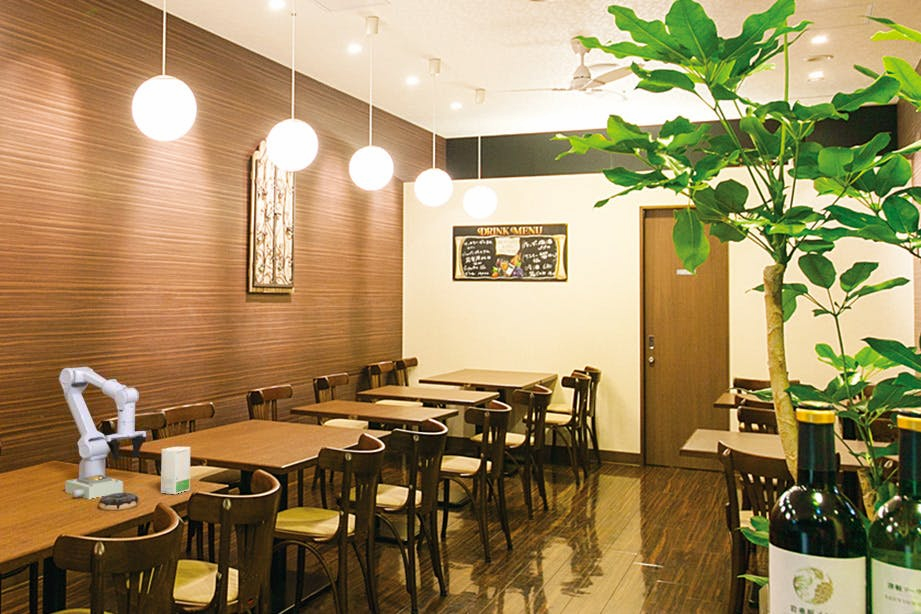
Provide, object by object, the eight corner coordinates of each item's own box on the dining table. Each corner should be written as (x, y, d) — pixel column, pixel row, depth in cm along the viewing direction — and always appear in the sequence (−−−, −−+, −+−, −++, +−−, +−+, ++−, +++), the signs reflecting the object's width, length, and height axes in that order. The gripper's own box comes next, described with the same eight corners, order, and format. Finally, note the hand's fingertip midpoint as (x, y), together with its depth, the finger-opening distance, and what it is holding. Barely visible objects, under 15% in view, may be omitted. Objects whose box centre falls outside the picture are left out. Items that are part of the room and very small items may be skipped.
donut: (110, 502, 245) (110, 490, 245) (145, 503, 244) (145, 491, 244) (92, 511, 234) (92, 499, 234) (128, 512, 233) (128, 500, 233)
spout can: (87, 493, 255) (85, 477, 256) (98, 490, 259) (96, 475, 260) (97, 492, 253) (95, 476, 253) (108, 489, 257) (106, 474, 257)
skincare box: (174, 495, 254) (175, 450, 255) (159, 493, 257) (160, 449, 257) (190, 490, 262) (191, 446, 263) (175, 488, 265) (176, 445, 265)
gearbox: (56, 493, 254) (56, 479, 254) (98, 486, 267) (99, 472, 267) (80, 501, 245) (80, 486, 245) (122, 492, 257) (123, 478, 257)
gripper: (113, 424, 259) (112, 463, 259) (150, 420, 271) (150, 457, 271) (102, 422, 264) (101, 460, 263) (140, 418, 275) (139, 454, 275)
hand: (125, 458), depth 268 cm, fingers open, 7 cm apart
